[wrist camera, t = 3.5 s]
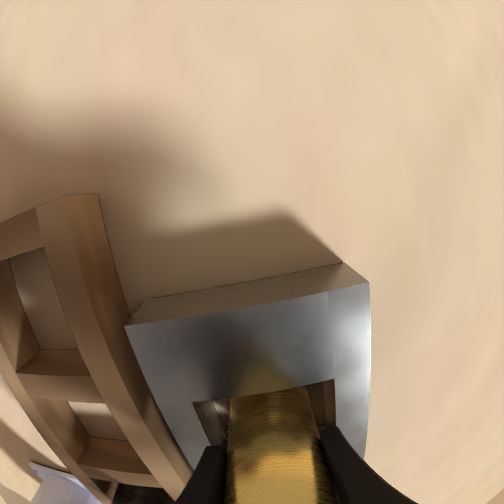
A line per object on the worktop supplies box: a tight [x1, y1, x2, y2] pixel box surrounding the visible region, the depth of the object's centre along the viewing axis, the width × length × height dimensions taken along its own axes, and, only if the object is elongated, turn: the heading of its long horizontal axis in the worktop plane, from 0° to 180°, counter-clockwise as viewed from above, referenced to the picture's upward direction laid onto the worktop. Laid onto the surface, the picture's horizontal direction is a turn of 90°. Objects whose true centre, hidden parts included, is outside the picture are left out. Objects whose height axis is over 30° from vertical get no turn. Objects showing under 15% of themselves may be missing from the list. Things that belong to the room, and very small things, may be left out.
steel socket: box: [124, 263, 371, 470], centre depth 11 cm, size 12×8×2 cm, turn 11°
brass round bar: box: [224, 386, 338, 504], centre depth 8 cm, size 4×4×9 cm
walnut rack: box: [0, 194, 194, 504], centre depth 11 cm, size 21×8×2 cm, turn 11°
